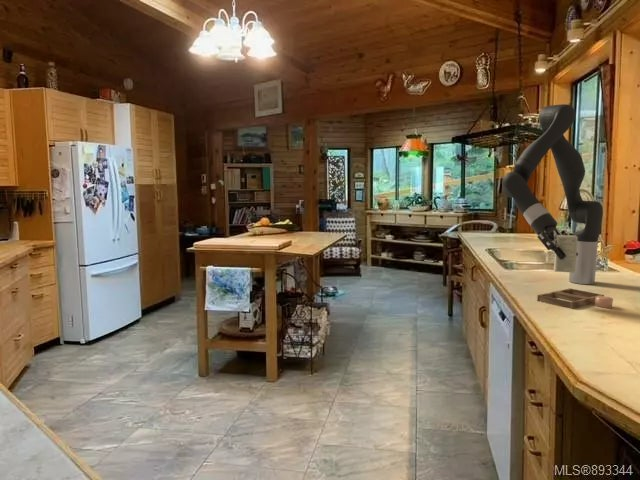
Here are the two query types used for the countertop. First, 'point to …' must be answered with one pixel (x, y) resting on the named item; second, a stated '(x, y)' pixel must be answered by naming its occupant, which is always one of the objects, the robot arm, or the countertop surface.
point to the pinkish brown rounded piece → (603, 302)
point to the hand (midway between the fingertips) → (569, 257)
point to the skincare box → (569, 248)
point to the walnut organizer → (569, 298)
